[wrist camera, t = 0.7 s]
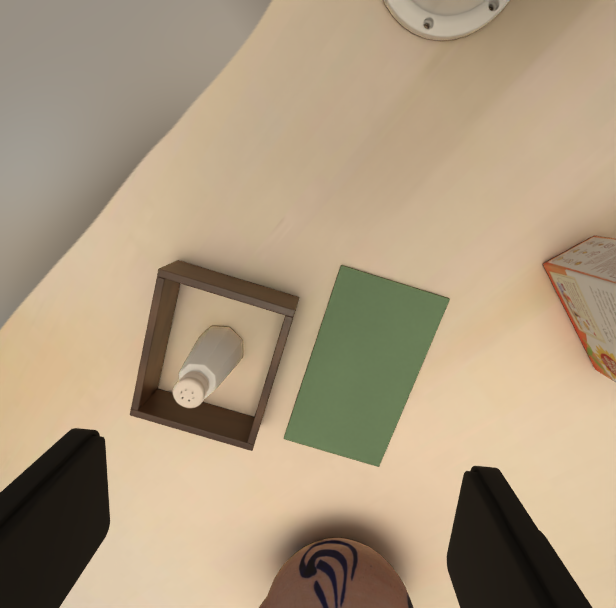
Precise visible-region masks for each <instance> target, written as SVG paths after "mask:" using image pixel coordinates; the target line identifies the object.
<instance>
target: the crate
mask: <svg viewBox="0 0 616 608" xmlns="http://www.w3.org/2000/svg"><path fill="white" fill-rule="evenodd" d="M180 283H181V284H184V285H188V286H191V287H194V288H198V289H201V290H204V291H207V292H211V293H214V294H217V295H220V296H224V297H227V298H230V299H234V300H237V301H240V302H243V303H247V304H250V305H253V306H257V307H260V308H263V309H266V310H270V311H273V312H276V313H280V314H283V315H285V318H284V322H283V325H282V328H281V332H280V335H279V338H278V342H277V345H276V348H275V351H274V355H273V358H272V361H271V365H270V368H269V371H268V375H267V378H266V381H265V385H264V388H263V391H262V395H261V398H260V401H259V405H258V408H257V411H256V414H255V417H252V416H248V415H245V414H241V413H238V412H235V411H231V410H228V409H224V408H221V407H218V406H214V405H211V404H208V403H204V402H202V403H201V404H200V405H199V406H197V407H195V408H186V407H183V406H181V405H179V404H178V403H177V402H176V400H175V399H174V396H173V393H170V392H167V391H163V390H160V389H158V384H159V380H160V375H161V371H162V366H163V361H164V357H165V352H166V347H167V343H168V338H169V333H170V329H171V324H172V319H173V315H174V310H175V306H176V301H177V296H178V292H179V287H180ZM298 300H299V297H297V296H293V295H290V294H287V293H284V292H280V291H277V290H274V289H271V288H267V287H264V286H261V285H257V284H254V283H251V282H248V281H244V280H241V279H238V278H235V277H231V276H228V275H225V274H222V273H218V272H215V271H212V270H209V269H205V268H202V267H199V266H195V265H192V264H189V263H186V262H182V261H179V260H177V261H175V262H173V263H171V264H168V265H166V266H164V267H161V268H159V269H158V274H157V280H156V285H155V290H154V295H153V300H152V305H151V310H150V315H149V320H148V325H147V330H146V335H145V341H144V346H143V351H142V356H141V361H140V366H139V371H138V376H137V381H136V386H135V391H134V396H133V402H132V407H131V411H130V415H131V416H134V417H138V418H141V419H145V420H148V421H152V422H155V423H158V424H162V425H165V426H169V427H172V428H175V429H179V430H182V431H186V432H189V433H193V434H196V435H199V436H203V437H206V438H210V439H213V440H217V441H220V442H223V443H227V444H230V445H234V446H237V447H240V448H244V449H247V450H251V451H252V450H253V447H254V444H255V440H256V437H257V434H258V431H259V427H260V424H261V421H262V418H263V414H264V411H265V408H266V405H267V401H268V398H269V395H270V392H271V389H272V385H273V382H274V379H275V376H276V372H277V369H278V366H279V363H280V359H281V356H282V353H283V350H284V346H285V343H286V340H287V337H288V333H289V330H290V327H291V324H292V320H293V317H294V314H295V311H296V307H297V304H298Z"/></svg>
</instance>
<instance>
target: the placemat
mask: <svg viewBox="0 0 616 608" xmlns="http://www.w3.org/2000/svg"><path fill="white" fill-rule="evenodd" d="M449 300H450V299H449V298H446V297H443V296H440V295H436V294H433V293H430V292H427V291H423V290H420V289H417V288H414V287H411V286H407V285H404V284H401V283H398V282H394V281H391V280H388V279H385V278H382V277H378V276H375V275H372V274H369V273H365V272H362V271H359V270H356V269H353V268H349V267H346V266H343V265H341V267H340V270H339V273H338V276H337V279H336V282H335V285H334V288H333V291H332V294H331V297H330V300H329V303H328V306H327V309H326V312H325V315H324V318H323V321H322V324H321V327H320V330H319V333H318V336H317V339H316V342H315V345H314V348H313V351H312V354H311V357H310V360H309V363H308V366H307V369H306V372H305V375H304V378H303V381H302V384H301V387H300V390H299V394H298V397H297V400H296V403H295V406H294V409H293V412H292V415H291V418H290V421H289V424H288V427H287V430H286V433H285V436H284V439H285V440H289V441H292V442H296V443H299V444H302V445H306V446H309V447H313V448H316V449H320V450H323V451H326V452H330V453H333V454H337V455H340V456H343V457H347V458H350V459H354V460H357V461H360V462H364V463H367V464H371V465H374V466H377V467H379V465H380V463H381V461H382V458H383V456H384V454H385V451H386V449H387V446H388V444H389V442H390V439H391V437H392V435H393V432H394V430H395V428H396V425H397V423H398V420H399V418H400V416H401V413H402V411H403V409H404V406H405V404H406V402H407V399H408V397H409V394H410V392H411V390H412V387H413V385H414V383H415V380H416V378H417V376H418V373H419V371H420V368H421V366H422V364H423V361H424V359H425V357H426V354H427V352H428V350H429V347H430V345H431V342H432V340H433V338H434V335H435V333H436V331H437V328H438V326H439V324H440V321H441V319H442V316H443V314H444V312H445V309H446V307H447V305H448V302H449Z"/></svg>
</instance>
